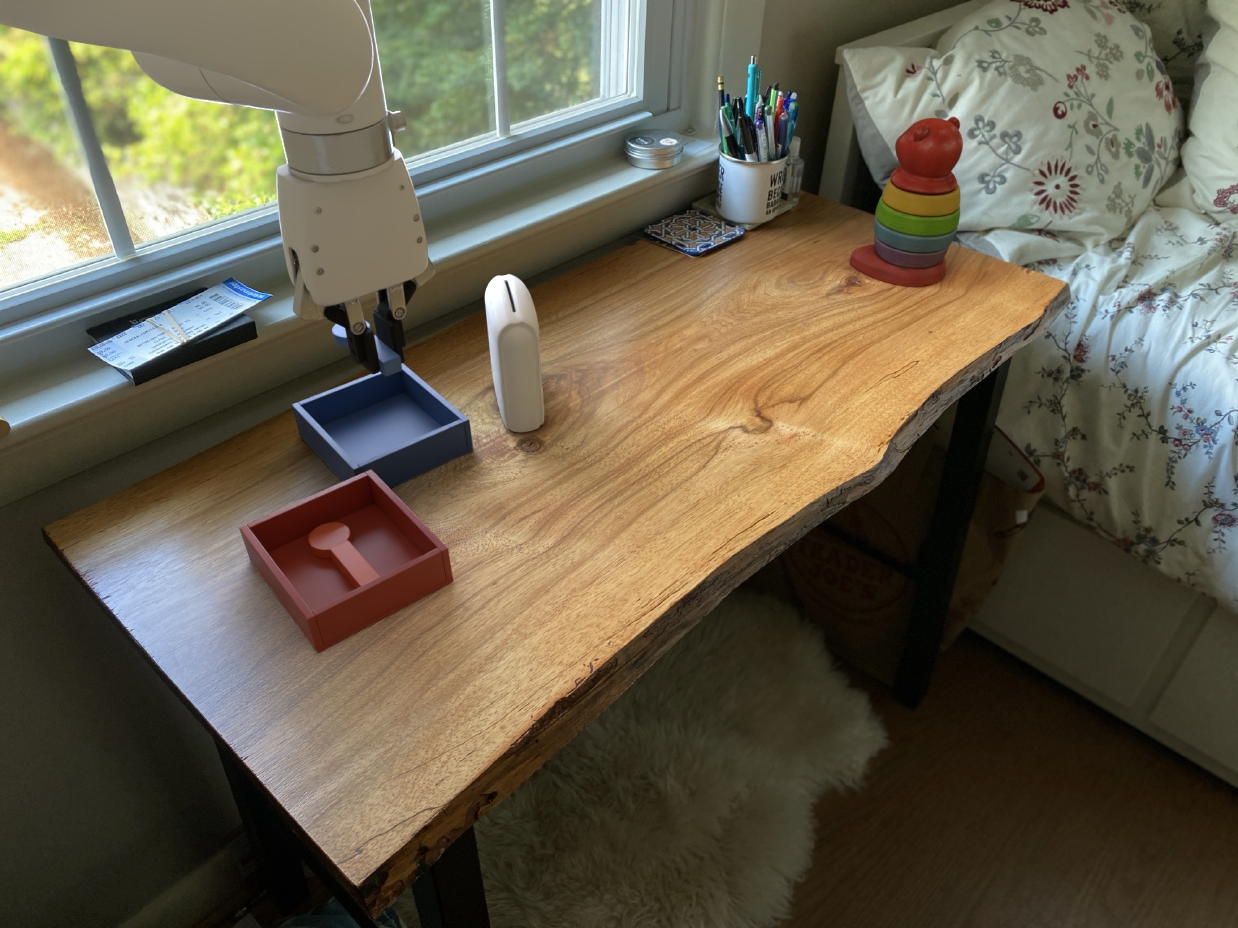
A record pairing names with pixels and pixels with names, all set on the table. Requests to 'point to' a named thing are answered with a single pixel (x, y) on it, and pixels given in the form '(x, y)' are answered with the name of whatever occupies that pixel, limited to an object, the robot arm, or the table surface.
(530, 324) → the photo printer
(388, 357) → the blue spoon
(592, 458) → the table surface
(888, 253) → the stacking bear
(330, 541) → the red spoon
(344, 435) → the blue bin
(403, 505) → the red bin
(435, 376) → the table surface
